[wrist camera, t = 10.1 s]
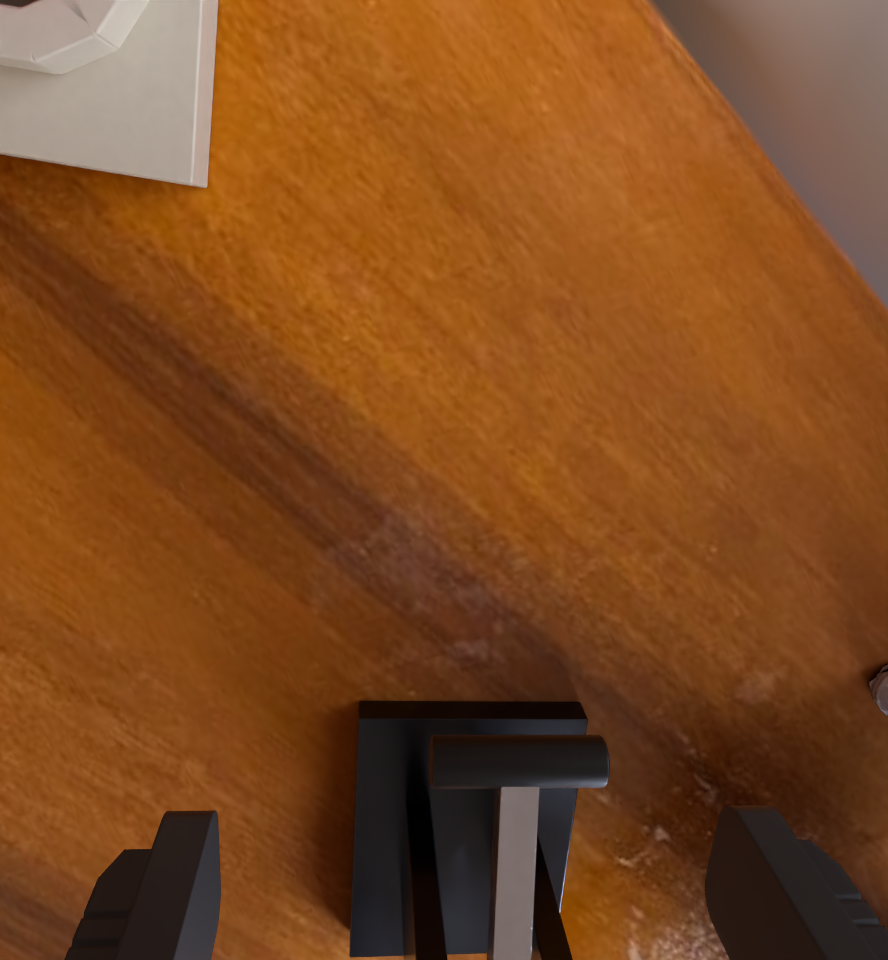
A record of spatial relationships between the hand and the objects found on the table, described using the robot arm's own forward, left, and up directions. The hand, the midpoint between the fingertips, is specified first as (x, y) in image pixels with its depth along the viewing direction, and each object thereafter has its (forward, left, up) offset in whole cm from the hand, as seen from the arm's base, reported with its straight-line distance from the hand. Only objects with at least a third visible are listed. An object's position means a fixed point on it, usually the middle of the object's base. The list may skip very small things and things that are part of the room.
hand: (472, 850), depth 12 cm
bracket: (+10, +11, -17) cm, 23 cm away
